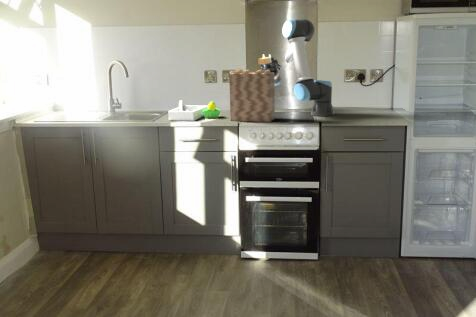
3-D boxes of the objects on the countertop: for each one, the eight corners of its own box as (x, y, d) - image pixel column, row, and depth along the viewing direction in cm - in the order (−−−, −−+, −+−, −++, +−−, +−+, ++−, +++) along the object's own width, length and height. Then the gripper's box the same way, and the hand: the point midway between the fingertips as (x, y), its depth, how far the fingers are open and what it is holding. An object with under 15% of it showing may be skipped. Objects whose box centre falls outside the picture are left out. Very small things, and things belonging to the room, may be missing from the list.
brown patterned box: (274, 118, 334) (274, 69, 327) (270, 121, 321) (269, 71, 313) (236, 117, 341) (235, 69, 334) (230, 120, 328) (229, 71, 320)
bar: (271, 62, 339) (271, 57, 338) (264, 64, 316) (263, 58, 316) (266, 62, 340) (266, 57, 339) (258, 64, 317) (258, 58, 316)
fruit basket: (218, 116, 349) (217, 99, 347) (221, 118, 341) (220, 101, 338) (201, 117, 346) (201, 100, 344) (204, 119, 338) (204, 102, 335)
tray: (207, 114, 358) (207, 105, 357) (193, 120, 331) (193, 111, 330) (184, 113, 363) (184, 105, 361) (168, 120, 336) (168, 111, 335)
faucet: (188, 114, 336) (186, 93, 349) (173, 119, 337) (171, 98, 350) (196, 127, 347) (193, 107, 359) (181, 132, 348) (179, 111, 361)
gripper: (283, 77, 349) (278, 61, 327) (260, 77, 353) (253, 61, 332) (284, 67, 351) (279, 50, 329) (261, 67, 355) (254, 51, 334)
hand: (266, 56), depth 331 cm, fingers closed on bar, 3 cm apart
